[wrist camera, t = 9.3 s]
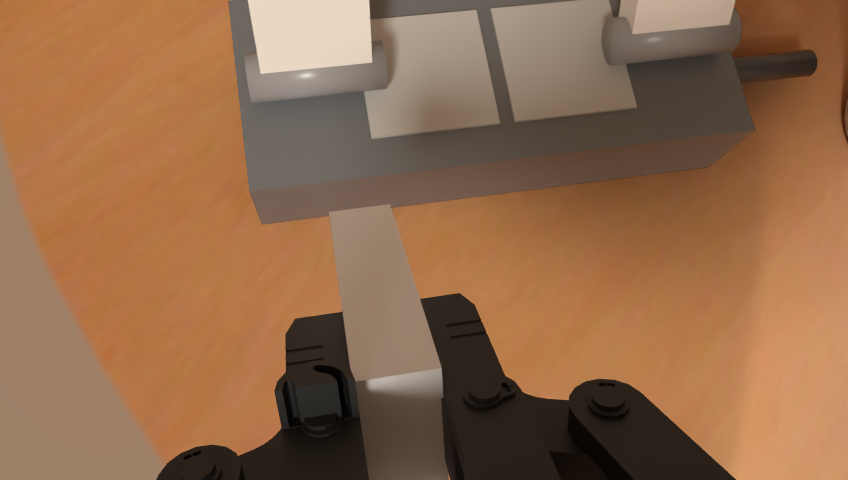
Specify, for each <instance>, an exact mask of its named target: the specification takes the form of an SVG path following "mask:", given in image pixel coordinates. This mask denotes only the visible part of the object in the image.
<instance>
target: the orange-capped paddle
mask: <svg viewBox="0 0 848 480" xmlns="http://www.w3.org/2000/svg"><path fill="white" fill-rule="evenodd" d="M248 4H249V10H250V16H251V21H252V27H253V33H254V38H255V44H256V50H257V52H252V53H245V54H244V58H245V68H246V76H247V82H248V88H249V93H250V98H251V102H252V103H260V102H269V101H278V100H288V99H297V98H307V97H316V96H326V95H335V94H344V93H354V92H363V91H373V90H382V89H387V84H388V79H387V65H386V57H385V51H384V46H383V42H382V40H376V41H371V26H370V7H369V0H248Z"/></svg>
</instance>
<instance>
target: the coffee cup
mask: <svg viewBox="0 0 848 480" xmlns="http://www.w3.org/2000/svg"><path fill="white" fill-rule="evenodd" d="M845 130H846V134H847V138H848V99H847V103H846V108H845Z"/></svg>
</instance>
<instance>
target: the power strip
mask: <svg viewBox="0 0 848 480" xmlns="http://www.w3.org/2000/svg"><path fill="white" fill-rule="evenodd" d="M228 3H229V12H230V21H231V30H232V39H233V48H234V57H235V66H236V75H237V84H238V92H239V101H240V110H241V119H242V128H243V137H244V146H245V155H246V164H247V173H248V182H249V191H250V194H251V197H252V199H253V202H254V205H255V207H256V210H257V213H258V215H259V218H260V220H261V223H262V224H269V223H277V222H284V221H292V220H300V219H308V218H316V217H323V216H329V212H333V211H340V210H348V209H356V208H364V207H371V206H379V205H387V204H390V205H391V208H393V207H401V206H409V205H417V204H424V203H432V202H440V201H448V200H456V199H463V198H471V197H479V196H487V195H494V194H502V193H510V192H518V191H526V190H533V189H541V188H549V187H557V186H564V185H572V184H580V183H588V182H596V181H603V180H611V179H619V178H627V177H634V176H642V175H650V174H658V173H666V172H673V171H681V170H689V169H697V168H705V167H709V166H711V165H712V164H713V163H714V162H716V161H717V160H718V159H719V158H721V157H722V156H723V155H724V154H726V153H727V152H728V151H729V150H731V149H732V148H733V147H734V146H736V145H737V144H738V143H739V142H741V141H742V140H743V139H744V138H746V137H747V136H748V135H749V134H751V133H752V132H753V131H754V130H755V128H754V125H753V121H752V118H751V115H750V112H749V108H748V105H747V102H746V99H745V95H744V92H743V89H742V86H741V84H743V83H752V82H760V81H769V80H778V79H787V78H796V77H805V76H811V75H812V74H813V73H814V72H815V70H816V67H817V57H816V54H815V53H814V52H813V51H812V50H800V51H790V52H781V53H772V54H762V55H753V56H744V57H734V58H733V57H732V53H723V54H714V55H704V56H695V57H686V58H676V59H667V60H657V61H648V62H638V63H629V64H620V65H609V64H608V63H607V62H606V60H605V57H604V53H603V49H602V30H603V26H604V24H605V22H606V20H607V19H609V18H615V17H618V16H619V10H620V3H621V0H369V7H370V26H371V41H376V40H382V42H383V46H384V51H385V57H386V65H387V79H388V84H387V89H382V90H373V91H363V92H354V93H344V94H335V95H326V96H316V97H307V98H297V99H288V100H278V101H269V102H260V103H252V102H251V98H250V93H249V88H248V82H247V76H246V68H245V58H244V54H245V53H252V52H257V50H256V44H255V38H254V33H253V27H252V21H251V16H250V10H249V4H248V0H233V1H228Z"/></svg>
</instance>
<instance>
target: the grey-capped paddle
mask: <svg viewBox="0 0 848 480" xmlns="http://www.w3.org/2000/svg"><path fill="white" fill-rule="evenodd" d="M735 1H736V0H621V3H620V10H619V16H618V17H615V18H609V19H607V20H606V22H605V24H604V26H603V30H602V49H603V53H604V57H605V60H606V62H607V63H608V64H609V65H620V64H629V63H638V62H648V61H657V60H667V59H676V58H686V57H695V56H704V55H714V54H723V53H731V52H733V51H734V50H735V49H736V48H737V46H738V44H739V41H740V38H741V31H742V26H741V19H740V16H739V14H738V12H737V10H736V9H735V8H734V5H735Z"/></svg>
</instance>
